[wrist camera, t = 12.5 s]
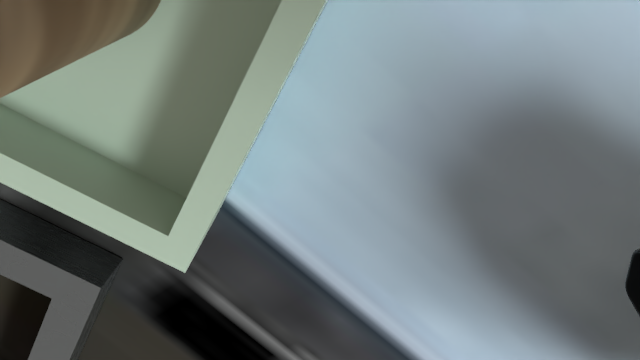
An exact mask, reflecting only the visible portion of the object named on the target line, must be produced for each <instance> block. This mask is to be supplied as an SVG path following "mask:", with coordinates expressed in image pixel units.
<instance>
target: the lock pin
mask: <svg viewBox="0 0 640 360" xmlns="http://www.w3.org/2000/svg"><path fill="white" fill-rule="evenodd" d="M160 1H161V0H0V98H1V97H4V96H6V95H8V94H10V93H12V92H14V91H16V90H18V89H20V88H22V87H24V86H26V85H28V84H30V83H32V82H34V81H36V80H38V79H40V78H42V77H44V76H46V75H48V74H50V73H52V72H54V71H57V70H59V69H61V68H63V67H65V66H67V65H69V64H71V63H73V62H75V61H77V60H79V59H81V58H83V57H85V56H87V55H89V54H91V53H93V52H95V51H97V50H99V49H101V48H103V47H105V46H107V45H110V44H112V43H114V42H116V41H118V40H120V39H122V38H124V37H126V36H128V35H130V34H132V33H133V32H135V31H137V30H138V29H140V28H141V27H142V26H143V25H144V24H145V23H146V22H147V21H148V20H149V19H150V18H151V17H152V16H153V14H154V12H155V11H156V9H157V8H158V6H159V4H160Z"/></svg>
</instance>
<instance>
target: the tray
mask: <svg viewBox="0 0 640 360" xmlns="http://www.w3.org/2000/svg"><path fill="white" fill-rule="evenodd" d="M327 1H328V0H161V1H160V4H159V6H158V8H157V9H156V11H155V12H154V14H153V16H152V17H151V18H150V19H149V20H148V21H147V22H146V23H145V24H144V25H143V26H142V27H141V28H140V29H138V30H137V31H135V32H133V33H132V34H130V35H128V36H126V37H124V38H122V39H120V40H118V41H116V42H114V43H112V44H110V45H107V46H105V47H103V48H101V49H99V50H97V51H95V52H93V53H91V54H89V55H87V56H85V57H83V58H81V59H79V60H77V61H75V62H73V63H71V64H69V65H67V66H65V67H63V68H61V69H59V70H57V71H54V72H52V73H50V74H48V75H46V76H44V77H42V78H40V79H38V80H36V81H34V82H32V83H30V84H28V85H26V86H24V87H22V88H20V89H18V90H16V91H14V92H12V93H10V94H8V95H6V96H4V97H1V98H0V182H1V183H3V184H5V185H7V186H9V187H11V188H13V189H15V190H17V191H19V192H21V193H23V194H25V195H27V196H29V197H31V198H33V199H35V200H37V201H39V202H41V203H44V204H46V205H48V206H50V207H52V208H54V209H56V210H58V211H60V212H62V213H64V214H66V215H68V216H70V217H72V218H74V219H76V220H78V221H80V222H82V223H84V224H86V225H88V226H90V227H92V228H95V229H97V230H99V231H101V232H103V233H105V234H107V235H109V236H111V237H113V238H115V239H117V240H119V241H121V242H123V243H125V244H127V245H129V246H131V247H133V248H135V249H137V250H139V251H141V252H143V253H146V254H148V255H150V256H152V257H154V258H156V259H158V260H160V261H162V262H164V263H166V264H168V265H170V266H172V267H174V268H176V269H178V270H180V271H182V272H184V273H185V272H186V270H187V269H188V267H189V265H190V263H191V261H192V260H193V258H194V256H195V254H196V252H197V250H198V249H199V247H200V245H201V243H202V241H203V240H204V238H205V236H206V234H207V232H208V230H209V229H210V227H211V225H212V223H213V221H214V219H215V218H216V216H217V214H218V212H219V210H220V208H221V206H222V204H223V202H224V200H225V198H226V196H227V194H228V192H229V190H230V189H231V187H232V185H233V183H234V181H235V179H236V177H237V175H238V173H239V171H240V169H241V167H242V165H243V163H244V161H245V160H246V158H247V156H248V154H249V152H250V150H251V148H252V146H253V144H254V142H255V140H256V138H257V136H258V134H259V132H260V131H261V129H262V127H263V125H264V123H265V121H266V119H267V117H268V115H269V113H270V111H271V109H272V107H273V105H274V103H275V102H276V100H277V98H278V96H279V94H280V92H281V90H282V88H283V86H284V84H285V82H286V80H287V78H288V76H289V74H290V73H291V71H292V69H293V67H294V65H295V63H296V61H297V59H298V57H299V55H300V53H301V51H302V49H303V47H304V45H305V44H306V42H307V40H308V38H309V36H310V34H311V32H312V30H313V28H314V26H315V24H316V22H317V20H318V18H319V16H320V15H321V13H322V11H323V9H324V7H325V5H326V3H327Z"/></svg>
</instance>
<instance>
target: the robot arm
mask: <svg viewBox="0 0 640 360" xmlns="http://www.w3.org/2000/svg"><path fill="white" fill-rule="evenodd" d="M625 284H626V291H627V294H628V297H629V299H630V300H631V302H632V304H633V306H634V307H635V309H636V311H637V313H638V314H639V316H640V249H637V250H636V251H635V252H634V253H633V255H632V258H631V262H630V266H629V270H628V274H627V278H626V283H625Z"/></svg>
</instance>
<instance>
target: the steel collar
mask: <svg viewBox="0 0 640 360" xmlns="http://www.w3.org/2000/svg"><path fill="white" fill-rule="evenodd" d="M122 260H123V259H122V258H120V257H118V256H116V255H114V254H112V253H110V252H108V251H106V250H104V249H102V248H100V247H98V246H96V245H94V244H91V243H89V242H87V241H85V240H83V239H81V238H79V237H77V236H75V235H73V234H71V233H69V232H67V231H65V230H63V229H61V228H59V227H57V226H54V225H52V224H50V223H48V222H46V221H44V220H42V219H40V218H38V217H36V216H34V215H32V214H30V213H28V212H26V211H24V210H22V209H20V208H17V207H15V206H13V205H11V204H9V203H7V202H5V201H3V200H1V199H0V274H1V275H3V276H5V277H7V278H9V279H11V280H13V281H15V282H18V283H20V284H22V285H24V286H26V287H28V288H30V289H32V290H34V291H37V292H39V293H41V294H43V295H45V296H47V297H49V298H51V299H52V300H51V302H50V305H49V307H48V310H47V312H46V315H45V317H44V320H43V322H42V325H41V327H40V330H39V333H38V335H37V338H36V340H35V343H34V345H33V348H32V350H31V353H30V355H29V358H28V360H78V358H79V356H80V353H81V351H82V349H83V347H84V345H85V342H86V340H87V338H88V336H89V333H90V331H91V329H92V327H93V325H94V322H95V320H96V318H97V316H98V313H99V311H100V309H101V307H102V304H103V302H104V300H105V298H106V296H107V293H108V291H109V289H110V287H111V284H112V282H113V280H114V278H115V275H116V273H117V271H118V269H119V267H120V264H121V262H122Z"/></svg>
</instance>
